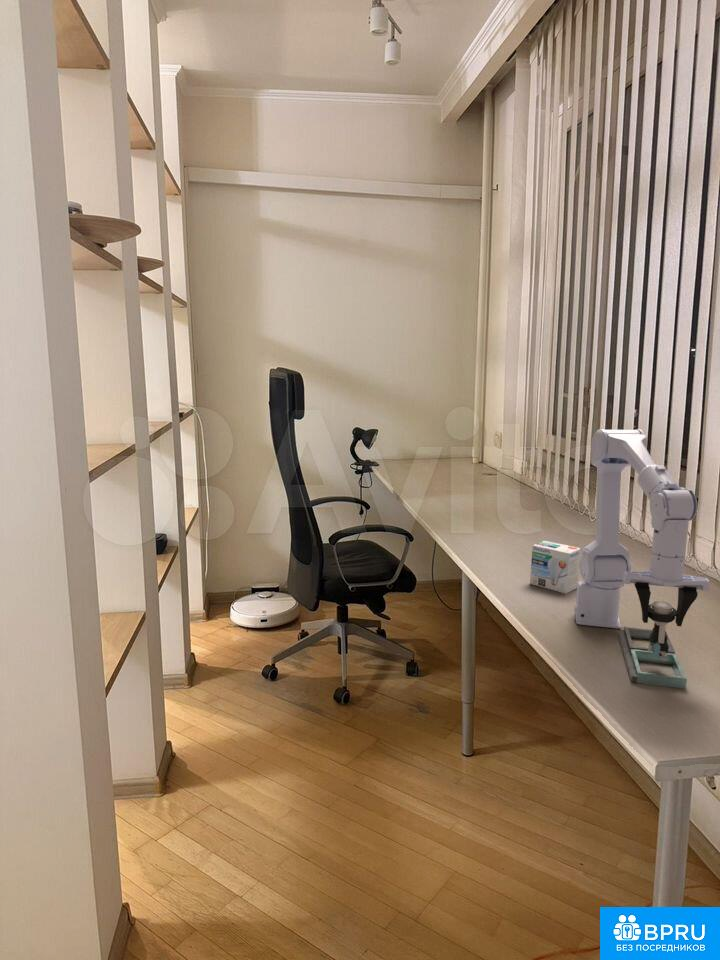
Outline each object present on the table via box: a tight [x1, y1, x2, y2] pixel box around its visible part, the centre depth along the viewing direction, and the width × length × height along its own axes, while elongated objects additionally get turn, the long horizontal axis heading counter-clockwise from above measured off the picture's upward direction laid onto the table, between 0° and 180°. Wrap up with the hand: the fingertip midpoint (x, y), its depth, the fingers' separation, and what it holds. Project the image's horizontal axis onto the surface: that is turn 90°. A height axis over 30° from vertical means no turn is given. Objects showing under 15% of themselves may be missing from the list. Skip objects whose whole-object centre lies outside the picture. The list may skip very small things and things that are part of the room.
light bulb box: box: [529, 540, 582, 595], centre depth 181 cm, size 11×7×11 cm, turn 47°
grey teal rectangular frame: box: [618, 626, 688, 690], centre depth 139 cm, size 9×22×2 cm, turn 166°
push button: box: [647, 600, 677, 661], centre depth 133 cm, size 7×5×10 cm
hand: (661, 622), depth 132 cm, fingers closed on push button, 5 cm apart
